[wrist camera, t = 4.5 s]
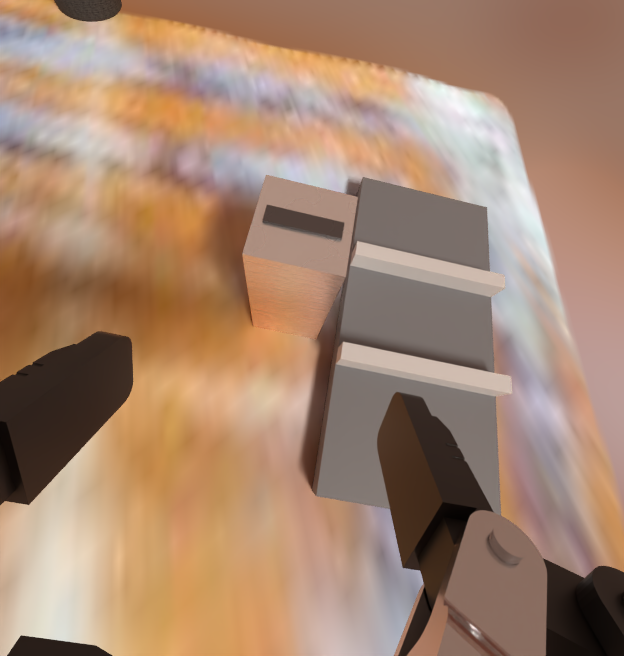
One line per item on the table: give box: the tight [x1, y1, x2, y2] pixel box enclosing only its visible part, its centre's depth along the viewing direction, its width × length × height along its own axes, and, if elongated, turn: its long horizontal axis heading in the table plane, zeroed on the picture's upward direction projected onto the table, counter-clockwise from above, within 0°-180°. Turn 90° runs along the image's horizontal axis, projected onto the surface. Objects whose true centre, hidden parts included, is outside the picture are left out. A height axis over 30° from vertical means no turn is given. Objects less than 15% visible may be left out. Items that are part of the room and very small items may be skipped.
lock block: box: [242, 175, 358, 339], centre depth 20 cm, size 5×5×10 cm
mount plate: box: [312, 177, 512, 515], centre depth 23 cm, size 12×26×4 cm, turn 170°
